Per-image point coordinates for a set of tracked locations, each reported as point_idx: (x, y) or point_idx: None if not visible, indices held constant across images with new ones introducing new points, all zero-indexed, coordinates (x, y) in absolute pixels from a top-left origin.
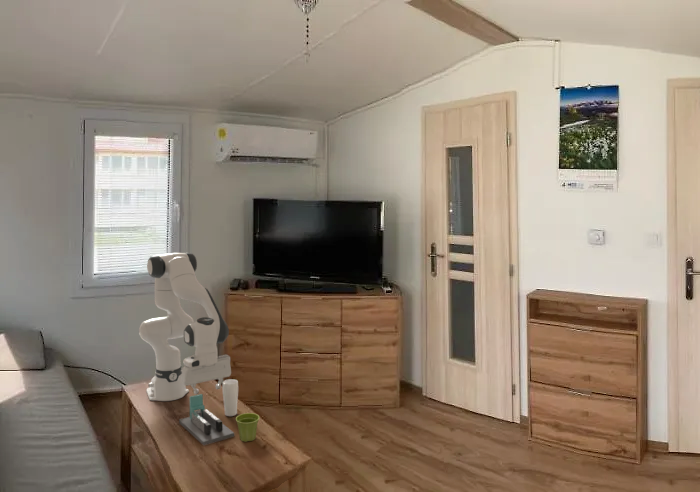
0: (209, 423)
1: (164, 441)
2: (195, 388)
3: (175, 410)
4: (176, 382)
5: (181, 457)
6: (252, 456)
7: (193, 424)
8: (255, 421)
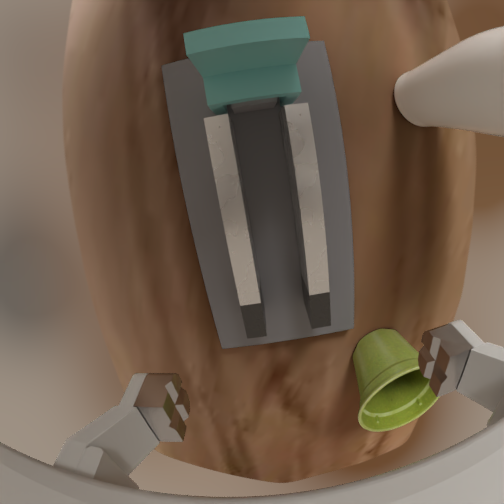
0: (292, 197)
1: (90, 239)
2: (140, 458)
3: None
4: None
5: (147, 372)
6: (329, 428)
7: None
8: (404, 423)
